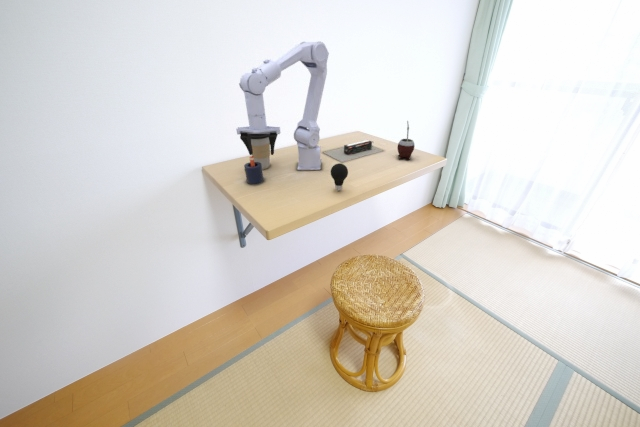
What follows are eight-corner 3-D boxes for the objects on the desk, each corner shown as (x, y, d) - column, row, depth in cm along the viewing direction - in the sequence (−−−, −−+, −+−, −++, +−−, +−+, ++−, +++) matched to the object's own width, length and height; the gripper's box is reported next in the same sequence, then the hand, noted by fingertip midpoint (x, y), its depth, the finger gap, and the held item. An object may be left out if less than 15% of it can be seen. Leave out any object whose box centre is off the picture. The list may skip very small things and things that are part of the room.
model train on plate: (382, 150, 125) (383, 142, 123) (341, 162, 113) (342, 152, 111) (362, 143, 135) (363, 134, 133) (323, 152, 123) (323, 143, 121)
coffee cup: (269, 171, 105) (264, 134, 97) (247, 170, 106) (241, 133, 98) (276, 163, 113) (273, 128, 104) (256, 161, 114) (251, 126, 106)
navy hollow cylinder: (264, 177, 100) (262, 161, 97) (261, 184, 95) (259, 168, 92) (249, 177, 100) (246, 161, 97) (245, 184, 95) (242, 168, 92)
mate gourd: (405, 162, 113) (411, 126, 105) (391, 156, 118) (396, 123, 110) (415, 158, 116) (422, 124, 108) (401, 153, 122) (407, 120, 114)
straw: (257, 179, 98) (254, 156, 93) (256, 180, 97) (253, 157, 92) (253, 179, 98) (249, 156, 93) (252, 180, 97) (248, 157, 92)
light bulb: (334, 196, 87) (335, 168, 82) (327, 188, 92) (327, 162, 87) (350, 192, 89) (351, 165, 84) (342, 185, 94) (343, 159, 88)
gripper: (230, 117, 82) (238, 158, 89) (276, 116, 82) (280, 158, 89) (237, 112, 88) (243, 151, 95) (279, 112, 88) (283, 150, 95)
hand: (261, 154), depth 93 cm, fingers open, 7 cm apart
